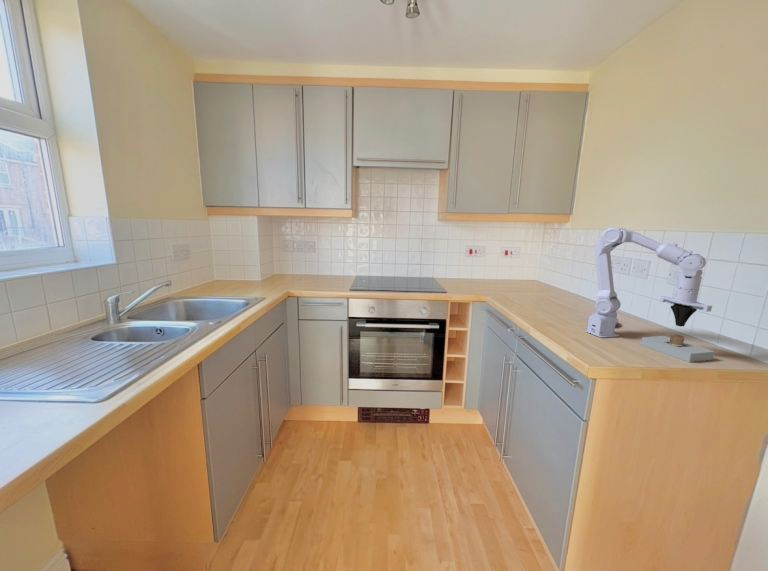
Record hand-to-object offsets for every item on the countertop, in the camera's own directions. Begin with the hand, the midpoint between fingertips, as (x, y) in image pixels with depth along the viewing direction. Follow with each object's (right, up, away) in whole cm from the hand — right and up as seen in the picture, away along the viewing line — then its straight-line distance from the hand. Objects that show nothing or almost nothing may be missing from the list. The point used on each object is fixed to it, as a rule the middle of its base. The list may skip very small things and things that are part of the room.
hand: (679, 325), depth 112 cm
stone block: (-3, -4, +34) cm, 34 cm away
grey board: (0, -10, +2) cm, 10 cm away
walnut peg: (0, -10, +2) cm, 10 cm away
